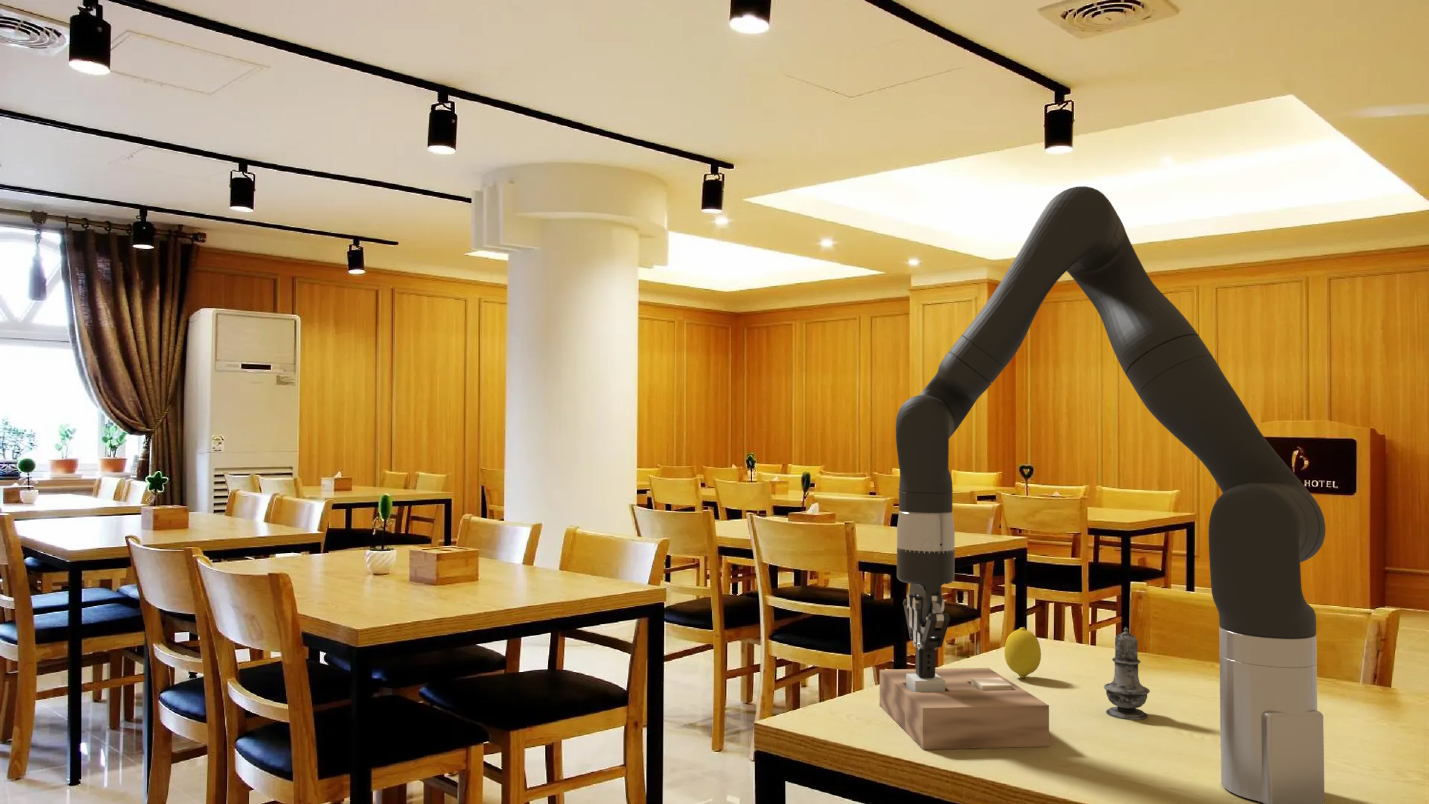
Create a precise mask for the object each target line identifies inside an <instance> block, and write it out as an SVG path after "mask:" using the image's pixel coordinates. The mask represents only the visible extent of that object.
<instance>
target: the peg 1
mask: <svg viewBox="0 0 1429 804" xmlns="http://www.w3.org/2000/svg"><path fill="white" fill-rule="evenodd" d="M906 687H907V688H908V689H910V690H911V691H912V692H945V680H944V679H942V678H941V677H940V676H938V675H937V674H936V673H935V677H934V678H920V677H919V676H918V675H917V674H906Z"/></svg>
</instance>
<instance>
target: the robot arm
mask: <svg viewBox="0 0 1429 804" xmlns="http://www.w3.org/2000/svg"><path fill="white" fill-rule="evenodd" d="M1066 272H1067V273H1068V274H1069V276H1070V277H1072V279H1073V280H1074V282H1075V283H1076V284H1077V285H1078V287H1079V288H1080V289H1081V291H1083V293H1084V294H1085V296H1086V297H1087V298H1088V299H1089V301H1090V302H1091V304H1092V305H1093V307H1094V308H1095V309H1096V311H1097V313H1098V315H1099V317H1100V319H1101V321H1102V323H1103V327H1104V328H1105V329H1104V330H1105V331H1106V335H1107V337H1108V341H1109V343H1110V345H1111V347H1112V351H1113V353H1114V354H1115V356H1116V358H1117V361H1118V363H1119V365H1120V367H1121V368H1122V371H1123V372H1124V374H1125V376H1126V377H1127V379H1128V381H1129V383H1130V384H1131V385H1132V387H1133V390H1134V391H1135V392H1136V393H1137V395H1138V397H1139V399H1140V401H1142V403H1143V405H1144V406H1145V407H1146V409H1147V410H1148V412H1150V413H1151V414H1152V416H1153V417H1154V418H1155V419H1156V420H1157V421H1158V422H1159V423H1160V424H1161V425H1162V426H1163V427H1165V429H1167V431H1168V432H1169V433H1170V434H1172V436H1174V437H1175V438H1176V439H1177V440H1178V441H1180V442H1181V443H1182V444H1183V445H1184V446H1185V447H1186V448H1187V449H1188V450H1189V451H1191V453H1192V454H1193V455H1195V456H1196V457H1197V458H1198V460H1199V461H1200V462H1201V463H1202V464H1203V465H1204V466H1205V468H1206V469H1207V470H1208V472H1209V473H1210V474H1211V476H1212V478H1213V479H1214V481H1215V482H1216V484H1217V486H1218V487H1219V490H1220V491H1221V493H1222V494H1220V496H1219V497H1218V498H1217V499H1216V500H1215V502H1214V504H1213V506H1212V509H1211V512H1210V516H1209V522H1208V555H1209V556H1208V558H1209V574H1210V575H1209V576H1210V590H1211V596H1212V600H1213V602H1214V605H1215V607H1216V610H1217V612H1218V622H1219V623H1218V625H1219V629H1218V630H1219V632H1218V633H1219V638H1218V639H1219V709H1220V710H1219V714H1220V715H1219V719H1220V721H1219V725H1220V727H1219V728H1220V729H1219V730H1220V735H1219V736H1220V740H1219V741H1220V777H1221V778H1220V784H1221V786H1222V787H1223V788H1224V789H1225V790H1227V791H1229V792H1230V793H1233V794H1234V795H1237V796H1239V797H1242V798H1246V799H1249V800H1252V801H1257V802H1260V803H1263V804H1325V803H1326V802H1325V749H1324V747H1325V744H1324V743H1325V741H1324V740H1325V739H1324V738H1325V735H1324V734H1325V733H1324V728H1325V727H1324V715H1323V713H1322V712H1321V711H1320V710H1318V679H1317V678H1318V677H1317V676H1318V673H1317V671H1318V669H1317V667H1318V666H1317V662H1318V659H1317V658H1318V655H1317V653H1318V651H1317V616H1316V615H1317V614H1316V611H1315V609H1314V608H1313V607H1312V606H1311V605H1310V604H1309V603H1308V602H1307V601H1306V599H1305V597H1304V593H1303V590H1302V589H1303V588H1302V576H1301V575H1302V574H1301V573H1302V572H1301V563H1302V562H1303V563H1304V562H1305V561H1307V560H1309V559H1311V558H1313V557H1314V556H1315V555H1317V553H1318V552H1319V550H1321V548H1322V547H1323V544H1324V541H1325V538H1326V531H1327V530H1326V521H1325V517H1324V516H1325V515H1324V512H1323V511H1322V508H1321V507H1320V505H1319V503H1318V501H1317V500H1316V499H1315V497H1314V496H1313V495H1312V494H1311V492H1310V490H1308V488H1307V487H1306V486H1305V485H1304V484H1303V483H1302V482H1301V480H1300V479H1299V478H1298V477H1297V475H1295V473H1294V472H1293V471H1292V470H1291V468H1290V467H1289V466H1288V465H1287V464H1286V462H1285V461H1284V460H1283V459H1282V457H1280V455H1279V454H1278V453H1277V452H1276V450H1275V449H1274V448H1273V447H1272V445H1271V444H1270V442H1269V441H1268V440H1267V439H1266V438H1265V437H1264V435H1263V433H1262V432H1261V431H1260V429H1259V428H1258V426H1257V424H1256V423H1255V421H1254V420H1253V417H1251V415H1250V413H1249V411H1248V409H1247V408H1246V407H1245V405H1244V404H1243V401H1242V400H1241V399H1240V397H1239V396H1238V394H1237V392H1236V391H1235V390H1234V388H1233V387H1232V385H1231V383H1230V382H1229V380H1228V378H1227V377H1226V375H1225V374H1224V373H1223V370H1222V369H1221V367H1220V365H1219V364H1218V363H1217V361H1216V359H1215V357H1214V356H1213V355H1212V353H1211V351H1210V350H1209V348H1208V347H1207V345H1206V344H1205V343H1204V341H1203V340H1202V338H1201V337H1200V335H1199V333H1197V331H1196V330H1195V328H1194V327H1193V326H1192V324H1191V323H1190V321H1188V319H1187V318H1186V317H1185V316H1184V314H1183V313H1182V312H1181V311H1180V310H1179V309H1178V308H1177V307H1176V306H1175V305H1174V304H1173V302H1172V301H1170V300H1169V299H1168V297H1166V296H1165V295H1164V293H1162V292H1161V290H1159V288H1158V287H1157V286H1156V285H1155V284H1154V282H1153V281H1152V280H1151V278H1150V276H1149V274H1148V273H1147V272H1146V269H1145V267H1144V266H1143V264H1142V262H1141V260H1140V258H1139V257H1138V255H1137V253H1136V251H1135V249H1134V246H1133V244H1132V243H1131V241H1130V238H1129V237H1128V234H1127V231H1126V228H1125V226H1124V224H1123V221H1122V219H1121V218H1120V216H1119V215H1118V212H1117V211H1116V209H1115V207H1114V206H1113V204H1112V203H1111V201H1110V200H1109V199H1108V197H1107V196H1106V195H1105V194H1104V193H1103V192H1102V191H1100V190H1099V189H1097V188H1094V187H1091V186H1085V185H1084V186H1073V187H1070V188H1069V187H1068V189H1065V190H1063V191H1061V192H1060V193H1058V194H1056V195H1055V196H1054V197H1053V198H1052V199H1051V200H1050V201H1049V202H1048V204H1046V206H1045V207H1044V209H1043V210H1042V212H1041V214H1040V215H1039V217H1038V219H1037V220H1036V222H1035V224H1034V226H1033V227H1032V229H1031V231H1030V233H1029V234H1028V236H1027V238H1026V239H1025V242H1024V243H1023V245H1022V246H1021V248H1020V251H1018V253H1017V255H1016V257H1015V258H1014V260H1013V261H1012V263H1011V264H1010V266H1009V267H1008V270H1007V271H1006V273H1005V274H1004V276H1003V278H1002V279H1001V281H1000V282H999V284H998V285H997V287H996V288H995V290H994V292H992V294H991V296H990V297H989V299H988V300H987V301H986V303H985V305H984V306H983V307H982V308H981V310H980V311H979V313H978V314H977V315H976V316H975V318H974V319H973V320H972V322H970V324H969V325H968V327H967V328H966V329H965V330H964V332H963V333H962V334H961V335H960V337H959V338H958V339H957V341H956V342H954V344H953V345H952V347H951V348H950V349H949V350H948V352H946V354H945V355H944V357H943V358H942V360H941V362H940V363H939V366H938V370H937V372H936V373H935V375H934V376H933V377H932V378H931V380H930V381H929V382H928V384H927V385H925V387H924V389H922V391H921V392H920V393H919V394H918V395H915V396H912V397H910V398H907V400H906V401H904V402H903V403H902V404H901V406H900V407H899V409H898V411H897V414H896V419H895V443H896V452H897V461H898V468H899V484H898V485H899V487H898V518H897V526H896V578H897V579H898V580H899V581H900V582H902V583H906V584H909V591H908V592H909V593H908V594H907V595H906V598H904V599H903V602H902V605H903V608H904V614H905V618H906V619H905V620H906V625H907V630H908V634H909V635H908V636H909V639H910V640H912V644H913V647H914V648H915V669H916V674H917V675H918V676H919V677H920V678H934V677H935V669H936V650H938V649H939V648H942V647H943V644H944V639H945V637H946V635H947V631H948V627H949V623H950V620H951V618H950V614H949V612H944V611H945V599H944V597H943V593H942V592H943V591H942V586H943V585H948V584H952V583H953V582H954V580H955V570H956V569H955V565H956V564H955V563H956V562H955V557H956V555H955V551H956V550H955V546H956V544H955V541H956V539H955V537H956V536H955V534H956V533H955V524H954V515H953V514H954V513H953V480H952V479H953V478H952V475H951V471H950V469H949V463H950V462H949V460H950V458H949V454H950V452H949V451H950V448H949V447H950V446H949V444H950V438H951V437H952V436H953V435H954V434H955V432H956V431H957V429H958V428H959V427H960V425H961V424H962V423H963V422H964V419H966V417H967V416H968V414H969V412H970V411H971V410H972V408H973V406H975V403H976V402H977V401H978V399H979V398H980V397H981V396H982V394H983V393H986V391H987V390H988V389H989V387H990V386H991V385H992V384H993V383H994V381H995V380H996V379H997V378H998V377H999V375H1000V374H1002V371H1003V370H1004V369H1005V368H1006V367H1007V366H1008V364H1009V363H1010V362H1011V360H1012V359H1013V358H1014V356H1015V355H1016V353H1017V352H1018V350H1020V347H1021V346H1022V344H1023V342H1024V340H1025V338H1026V336H1027V334H1028V332H1029V329H1030V327H1031V326H1032V323H1033V321H1034V319H1035V317H1036V315H1037V313H1038V311H1039V309H1040V307H1041V305H1042V304H1043V302H1044V300H1045V299H1046V297H1047V295H1048V294H1049V293H1050V291H1052V288H1053V287H1054V285H1055V284H1056V283H1057V282H1058V281H1059V280H1060V279H1061V278H1062V277H1063V275H1064V274H1065V273H1066Z"/></svg>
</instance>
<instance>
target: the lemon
mask: <svg viewBox="0 0 1429 804" xmlns="http://www.w3.org/2000/svg"><path fill="white" fill-rule="evenodd" d="M1003 651H1004V660H1005V663H1006V664H1007V666H1008V668H1009V669H1010V670H1011V671H1012V672H1014V673H1015V674H1017V675H1018V676H1019V678H1021V679H1025V678H1026V677H1027V676H1028V675H1030V674H1032V673H1034V672H1035V671H1036V670H1037V669H1038V668H1039V666H1040V663H1041V659H1042V650H1041V645H1040V642H1039V639H1038V638H1037V636H1036V635H1035V634H1034V633H1033V632H1031V631H1030V630H1027V628H1025V627H1023V626H1022V627H1019V628H1018V629H1016V630H1013V631H1012V632H1011V633H1009V635H1008V636H1007V638H1006V640H1005V644H1004V650H1003Z"/></svg>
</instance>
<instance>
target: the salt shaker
mask: <svg viewBox="0 0 1429 804" xmlns="http://www.w3.org/2000/svg"><path fill="white" fill-rule="evenodd" d="M1114 651H1115V652H1114V657H1113V658H1112V659H1111V660H1112V661H1113V662H1114V676H1113V679H1112V681H1111V682H1110V683H1109V682H1108V683H1106V684H1104V685H1103V689H1104V690H1105V691H1106V693H1105V694H1106V697H1107V699H1108V700H1109V702H1110V703H1111V704H1112V705H1114V706H1112V707H1110V708H1108V709H1106V711H1105V713H1106V714H1107V715H1108V716H1110V717H1113V718H1116V719H1122V720H1131V721H1138V720H1145V719H1147V718H1148V717H1149V716H1148V714H1147V713H1146V712H1145V711H1144V710H1141V709H1139V708H1141V707H1142V706H1143V705H1144V704H1146V701H1147V699H1148V694H1150V692H1151V691H1150V689H1149V688H1148V687H1146V686H1143V685H1142V683H1141V682H1140V678H1139V664H1140V663H1141V660H1140V659H1138V656H1139V655H1138V638H1137V637H1136V636H1135V635H1133V634H1131V633H1130V632H1129V628H1128V627H1127V626H1125V627H1124V629H1123V632H1122V633H1119V634H1117V635H1116V636H1115V638H1114Z"/></svg>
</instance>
